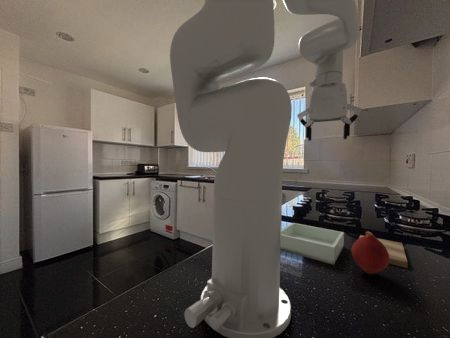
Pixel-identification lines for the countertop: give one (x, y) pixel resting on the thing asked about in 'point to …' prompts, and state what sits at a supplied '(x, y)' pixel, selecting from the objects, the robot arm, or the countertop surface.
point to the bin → (312, 242)
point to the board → (395, 252)
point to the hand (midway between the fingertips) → (326, 139)
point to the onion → (370, 254)
